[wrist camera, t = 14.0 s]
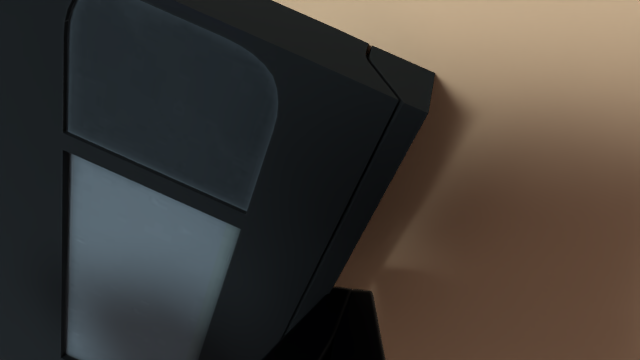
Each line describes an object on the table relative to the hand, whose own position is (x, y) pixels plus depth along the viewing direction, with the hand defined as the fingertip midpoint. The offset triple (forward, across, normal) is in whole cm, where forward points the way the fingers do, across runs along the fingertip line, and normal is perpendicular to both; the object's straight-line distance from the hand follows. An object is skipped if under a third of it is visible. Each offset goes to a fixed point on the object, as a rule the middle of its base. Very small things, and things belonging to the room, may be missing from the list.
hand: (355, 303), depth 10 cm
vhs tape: (+2, +5, 0) cm, 5 cm away
